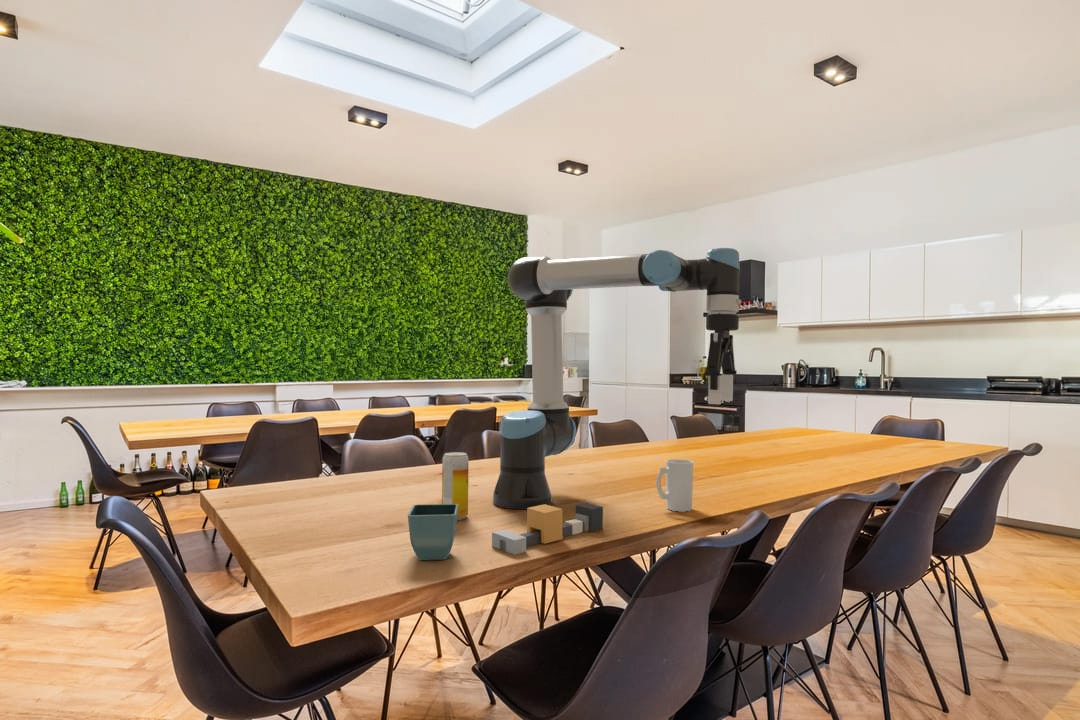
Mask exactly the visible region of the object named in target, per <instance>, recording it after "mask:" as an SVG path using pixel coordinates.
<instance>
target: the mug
mask: <svg viewBox="0 0 1080 720" xmlns="http://www.w3.org/2000/svg"><path fill="white" fill-rule="evenodd" d="M664 474H665V490H666V491H665V492H664V491H663V488H662V483H661V482H662V477H664ZM693 483H694V461H693V460H688V459H679V458H677V459H675V458H674V459H667V460H665V467H664V466H660V467H659V471H658V474H657V476H656V489H657V492H658V495H659V498H660V499H661V500H665V501H666V509H667V510H668V509H669V510H668V511H671V510H672V512H676V511H678V512H679V513H684V512H685V513H686V511H688V512H691V511H692V509H693V491H694V490H693V487H694V486H693V485H694V484H693Z"/></svg>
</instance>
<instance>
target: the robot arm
mask: <svg viewBox="0 0 1080 720" xmlns="http://www.w3.org/2000/svg"><path fill="white" fill-rule="evenodd" d="M705 257H706V258H700V259H684V258H682V257H680V256H677V254H674V253H673V252H671V251H669V250H663V249H656V250H653V251H652V252H649V253H641V254H640V253H638V254H627V255H626V254H624V255H610V256H609V255H608V256H595V257H579V258H578V257H577V258H567V259H566V258H565V259H551V258H550V257H549V256H524V257H521V258H519V259H517V260H516V261H515V262H513V264H512V265H511V267H510V268H509V270H508V275H507V282H508V283H507V284H508V286H509V288H510V290H511V291H512V293H513V295H515V296H516V297H518V299H522V300H523V301H525V311H526V312H527V313H528V314H529V316H530V317H531V321H530V322H531V323H530V324H531V366H532V367H531V369H532V370H531V371H532V372H531V373H532V374H531V375H532V383H531V384H532V401H531V403H530V404H529V405H528V406H527V410H520V411H512V412H509V413H507V414H504V415H503V416H502V417H501V419H500V428H499V433H500V435H499V436H500V437H499V439H500V440H499V441H500V444H499V445H500V452H499V455H500V459H499V460H500V461H499V466H500V469H499V476H498V479H497V481H496V484H495V488H494V490H493V496H492V503H493V504H494V505H496V506H498V507H500V508H505V509H514V510H527V508H529V507H534V506H539V505H544V504H546V505H551V504H552V492H551V489H550V486H549V483H548V479H547V476H546V466H545V464H546V457H550V456H557V455H559V454H561V453H564V452H565V451H566V450H567V451H568V449H569V448H570V447H571V446H572V445H573V443H574V442H575V439H576V437H577V427H576V422H575V421H574V420H573V419H572V417H571V416H570V406H569V405H568V404H567V403H566V402H565V401H564V372H563V371H564V368H563V367H564V366H563V359H564V358H563V321H562V318H563V317H562V316H563V314H564V313H565V312H566V311H567V309H568V302H567V301H569V298H570V297H571V296H572V294H573V290H582V289H585V290H586V289H605V288H607V289H608V288H629V287H658V289H660V290H661V291H662V292H672V293H676V292H685V291H706V300H705V301H706V302H705V303H706V304H705V312H706V313H707V315H706V316H705V329H706V330H707V331H710V334H709V337H710V338H709V348H708V356H707V361H706V369H705V370H704V376H708V382H707V383H708V388H707V395H708V397H707V404H708V405H721V404H722V401H725V402H733V399H734V397H733V396H734V375H735V376H736V375H737V370H736V367H735V366H736V365H735V355H734V354H735V353H734V336H733V334H730V331H738V330H739V325H740V324H739V320H740V319H739V317H740V316H739V315H738V314H737V313H738V312H739V311H740V310H739V309H740V308H739V304H741V303H742V299H740V272H741V267H740V253H739V251H738V250H737V249H735V248H732V247H731V248H730V247H717V248H711V249H709V250H708V251H707V254H706V256H705ZM711 331H713V332H711ZM721 372H722V374H721Z"/></svg>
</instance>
